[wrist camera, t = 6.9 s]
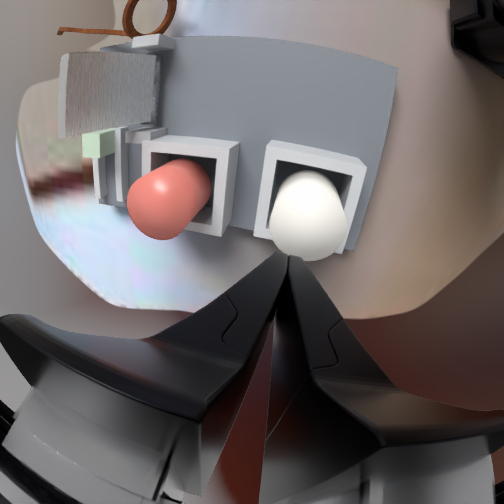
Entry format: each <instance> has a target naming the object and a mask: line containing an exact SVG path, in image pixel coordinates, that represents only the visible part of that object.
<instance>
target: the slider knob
mask: <svg viewBox="0 0 504 504" xmlns="http://www.w3.org/2000/svg"><path fill="white" fill-rule="evenodd" d="M114 134H115V128H109V129H104V130H99V131H94V132H90V133H86V134H82V146H83V157H86V158H102V157H104V156H107V155H109V154H112V153H114V152H115V144H114Z"/></svg>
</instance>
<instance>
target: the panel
mask: <svg viewBox="0 0 504 504" xmlns="http://www.w3.org/2000/svg"><path fill="white" fill-rule="evenodd" d="M100 52H118V53H136V54H147V53H163V62H162V70H161V80H160V91H159V104H158V119H157V124H149V125H143V124H141V123H138V124H131V125H125V126H120V127H114V128H115V134H114V144H115V152H114V153H112V154H109V155H107V156H104V157H102V158H93V173H94V186H95V197H96V198H99V203H100V204H106V205H112V206H118V207H124V208H127V196H128V192H129V189H130V188H131V186H132V184H133V183H134V182H135V181H136V180H138V179H139V178H141V177H142V176H144V175H146V174H148V173H150V172H151V171H153V170H155V169H157V168H159V167H161V166H162V165H164V164H166V163H168V162H170V161H172V160H174V159H178V158H186V159H190V160H193V161H195V162H197V163H198V164H200V165H201V166H202V167H203V168H204V169H205V171H206V172H207V174H208V176H209V179H210V182H211V194H210V197H209V200H208V201H207V203H206V204H205V205H204V207H203V208H202V209H201V210H200V211H199V212H198V213H197V214H196V216H195V217H194V218H193V219H192V220H191V221H190V222H189V224H188V225H187V226H186V227H185V228H184V229H183V230H188V231H194V232H199V233H204V234H209V235H214V236H220V237H221V236H222V235H223V233H224V231H225V230H226V228H227V226H232V227H237V228H242V229H247V230H253V231H254V234H253V236H255V237H260V238H265V239H270V240H273V239H272V237H271V234H270V227H269V224H270V217H271V214H272V210H273V207H274V203H275V200H276V197H277V193H278V190H279V187H280V185H281V184H282V182H283V181H284V180H285V179H286V178H287V177H288V176H290V175H291V174H293V173H295V172H298V171H302V170H312V171H317V172H320V173H322V174H324V175H325V176H327V177H328V178H329V179H330V180H331V181H332V182H333V184H334V185H335V187H336V189H337V192H338V195H339V198H340V201H341V204H342V207H343V210H344V213H345V216H346V221H347V231H346V236H345V238H344V241H343V242H342V244H341V246H340V247H339V248H338V249H337V250H336V251H335V252H334V253H339V254H342V252H343V249H346V250H351V251H354V248H355V245H356V242H357V239H358V236H359V233H360V230H361V227H362V223H363V220H364V217H365V214H366V210H367V207H368V204H369V200H370V197H371V193H372V190H373V186H374V182H375V179H376V175H377V171H378V167H379V163H380V159H381V155H382V151H383V147H384V143H385V138H386V134H387V129H388V124H389V119H390V114H391V109H392V104H393V98H394V93H395V87H396V80H397V74H398V68H397V67H394V66H391V65H388V64H385V63H382V62H379V61H376V60H373V59H370V58H366V57H363V56H359V55H355V54H352V53H348V52H344V51H339V50H335V49H331V48H326V47H321V46H316V45H310V44H305V43H299V42H292V41H285V40H276V39H267V38H255V37H239V36H189V37H172V38H170V37H168V36H165V35H162V34H152V35H144V36H138V37H133V42H130V43H124V44H119V45H113V46H108V47H104V48H100Z"/></svg>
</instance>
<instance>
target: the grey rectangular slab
mask: <svg viewBox="0 0 504 504" xmlns="http://www.w3.org/2000/svg"><path fill="white" fill-rule="evenodd" d="M162 62H163V53H147V54H136V53H118V52H73V53H68V54H65V55H63V56H61V64H60V76H59V93H58V138H69V137H73V136H77V135H81V134H86V133H90V132H94V131H99V130H104V129H109V128H114V127H120V126H125V125H131V124H138V123H141V124H143V125H149V124H157V119H158V104H159V91H160V80H161V70H162Z"/></svg>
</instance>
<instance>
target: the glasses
mask: <svg viewBox="0 0 504 504" xmlns="http://www.w3.org/2000/svg"><path fill="white" fill-rule="evenodd" d="M138 1H139V0H129V1H128V2H127V4H126V7H125V9H124V13H123V19H122V24H123V29H124V31H122V30H105V29H78V28H68V27H60V28H59V31H58V33H57V35H62V34H63V32H64V31H66V32H79V33H92V34H109V35H121V36H129V37H130V38H132V39H133V37H138V36H144V35H152V34H163V33H164V32H165V31H166V30H167V28H168V27H169V25H170V23H171V22H172V20H173V17H174V15H175V11H176V5H177V0H167V1H168V9H167V13H166V16H165V18H164V20H163V22H162V23H161V25H160V26H159V27H158V28H157V29H156V30H155V31H153V32H152V33H149V34H141V33H139V32H137V31H136V29H135V28H134V26H133V22H132V16H133V11H134V9H135V6H136V4H137V2H138Z"/></svg>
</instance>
